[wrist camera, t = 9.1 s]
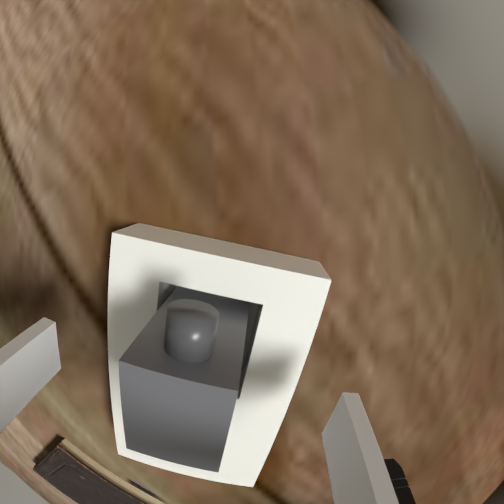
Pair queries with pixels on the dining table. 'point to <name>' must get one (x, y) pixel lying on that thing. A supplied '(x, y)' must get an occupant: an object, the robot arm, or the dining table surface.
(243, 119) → the dining table surface
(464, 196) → the dining table surface
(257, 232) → the dining table surface
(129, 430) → the plug
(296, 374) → the socket
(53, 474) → the hardcover book
